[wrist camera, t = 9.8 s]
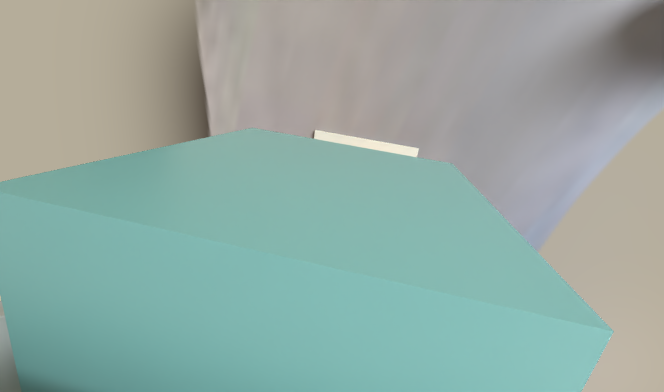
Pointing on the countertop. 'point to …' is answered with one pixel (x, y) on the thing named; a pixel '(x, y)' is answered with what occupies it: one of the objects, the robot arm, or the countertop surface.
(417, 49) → the countertop surface
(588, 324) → the teal cube
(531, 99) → the countertop surface
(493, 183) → the countertop surface
